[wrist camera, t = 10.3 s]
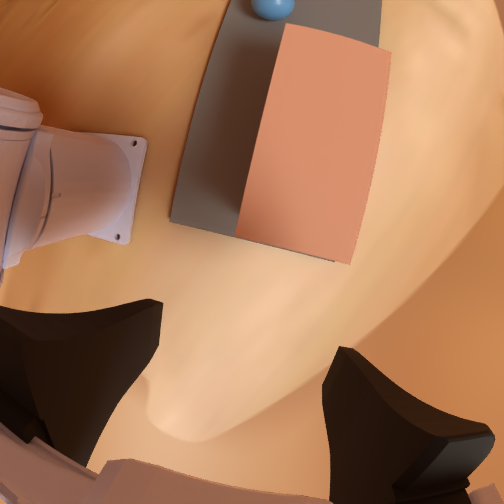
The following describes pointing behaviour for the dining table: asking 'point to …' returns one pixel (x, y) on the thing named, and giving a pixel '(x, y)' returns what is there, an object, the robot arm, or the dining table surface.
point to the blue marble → (273, 8)
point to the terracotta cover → (316, 144)
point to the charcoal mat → (247, 104)
